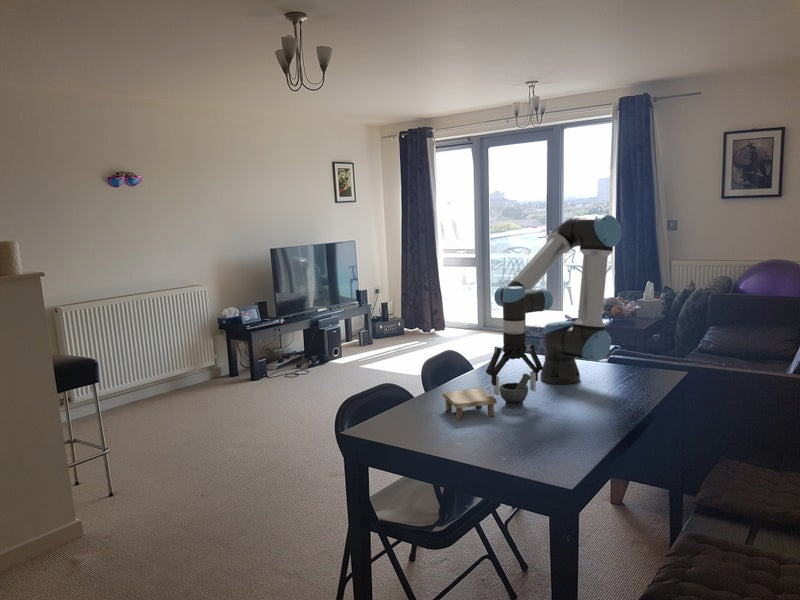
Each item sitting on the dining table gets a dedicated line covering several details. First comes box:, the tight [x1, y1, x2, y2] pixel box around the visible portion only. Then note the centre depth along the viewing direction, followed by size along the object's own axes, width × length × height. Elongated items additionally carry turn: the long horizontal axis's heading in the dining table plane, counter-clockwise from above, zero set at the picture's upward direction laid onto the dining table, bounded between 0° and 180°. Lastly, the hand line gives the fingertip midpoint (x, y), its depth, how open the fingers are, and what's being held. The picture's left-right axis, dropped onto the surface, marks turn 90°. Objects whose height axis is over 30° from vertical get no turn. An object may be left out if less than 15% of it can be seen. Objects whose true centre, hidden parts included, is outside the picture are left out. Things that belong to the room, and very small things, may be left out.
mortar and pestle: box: [499, 373, 531, 409], centre depth 206 cm, size 11×9×12 cm
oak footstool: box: [442, 387, 498, 422], centre depth 202 cm, size 14×14×6 cm
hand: (514, 392), depth 206 cm, fingers open, 13 cm apart
